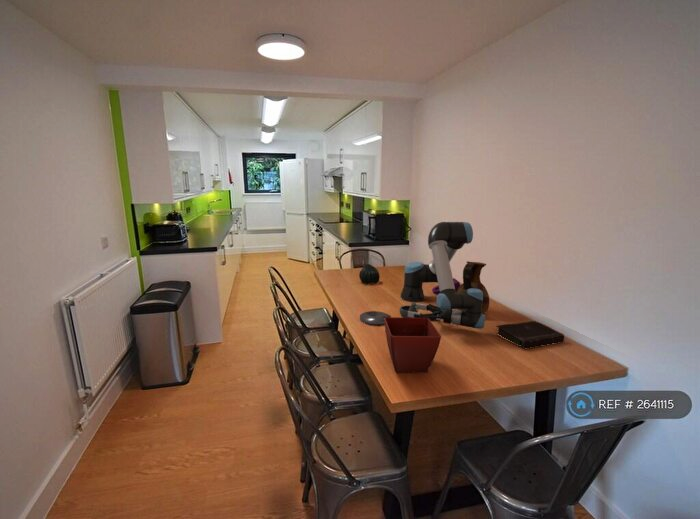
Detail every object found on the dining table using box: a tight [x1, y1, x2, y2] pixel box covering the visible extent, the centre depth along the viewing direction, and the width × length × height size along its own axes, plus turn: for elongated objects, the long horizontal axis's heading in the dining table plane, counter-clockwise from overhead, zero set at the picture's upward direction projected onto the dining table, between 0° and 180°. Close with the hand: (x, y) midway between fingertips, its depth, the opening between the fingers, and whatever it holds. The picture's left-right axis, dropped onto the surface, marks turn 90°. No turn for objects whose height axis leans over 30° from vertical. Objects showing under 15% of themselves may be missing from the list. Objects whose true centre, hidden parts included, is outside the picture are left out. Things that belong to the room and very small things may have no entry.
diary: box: [495, 320, 565, 350], centre depth 166 cm, size 19×25×5 cm
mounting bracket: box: [431, 277, 462, 295], centre depth 234 cm, size 9×8×18 cm
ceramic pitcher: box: [456, 260, 490, 314], centre depth 197 cm, size 20×20×30 cm
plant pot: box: [384, 316, 442, 374], centre depth 138 cm, size 19×19×17 cm
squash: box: [358, 263, 381, 285], centre depth 254 cm, size 14×15×15 cm
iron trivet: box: [359, 310, 392, 327], centre depth 186 cm, size 17×17×2 cm
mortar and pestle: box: [399, 302, 419, 318], centre depth 183 cm, size 11×9×12 cm
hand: (411, 309), depth 182 cm, fingers open, 13 cm apart
